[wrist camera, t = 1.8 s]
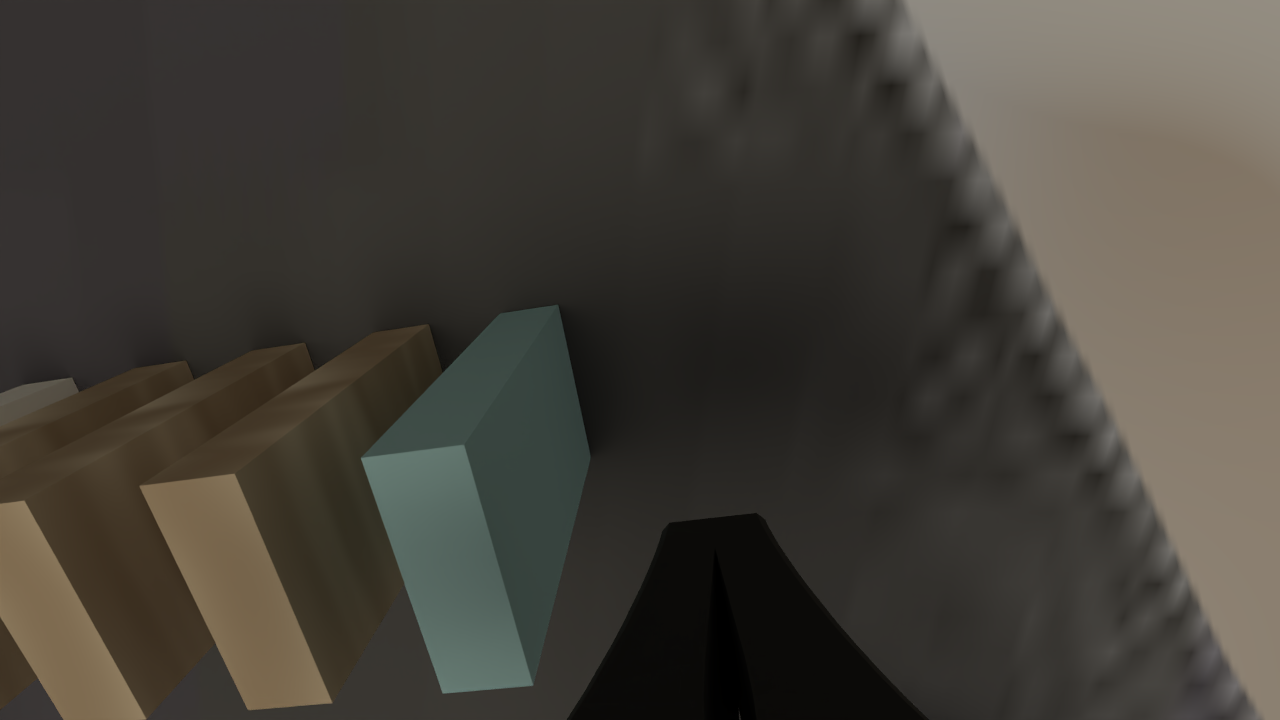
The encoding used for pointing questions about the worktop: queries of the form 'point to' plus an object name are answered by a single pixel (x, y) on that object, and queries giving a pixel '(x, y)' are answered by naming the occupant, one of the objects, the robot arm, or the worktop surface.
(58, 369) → the worktop surface
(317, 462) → the domino
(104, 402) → the domino
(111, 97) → the worktop surface
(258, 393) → the domino
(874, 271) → the worktop surface
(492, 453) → the domino
